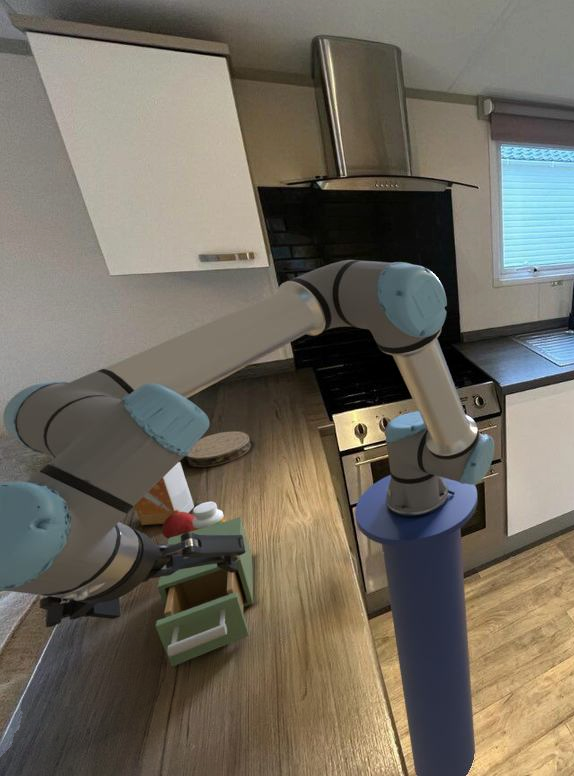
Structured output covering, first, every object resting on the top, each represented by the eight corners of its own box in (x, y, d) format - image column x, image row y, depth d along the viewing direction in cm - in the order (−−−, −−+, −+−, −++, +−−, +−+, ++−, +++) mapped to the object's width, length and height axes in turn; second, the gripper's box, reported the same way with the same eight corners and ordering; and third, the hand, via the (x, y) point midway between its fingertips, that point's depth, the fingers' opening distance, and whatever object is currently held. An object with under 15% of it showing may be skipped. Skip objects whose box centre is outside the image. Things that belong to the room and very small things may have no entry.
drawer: (248, 659, 71) (236, 619, 68) (167, 694, 66) (149, 652, 63) (248, 585, 85) (237, 549, 82) (180, 609, 79) (167, 572, 76)
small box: (141, 526, 102) (123, 478, 97) (160, 508, 107) (144, 463, 103) (178, 523, 102) (162, 476, 98) (195, 506, 108) (181, 461, 104)
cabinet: (253, 603, 82) (240, 559, 78) (175, 633, 76) (157, 587, 72) (252, 557, 93) (241, 516, 89) (183, 580, 87) (168, 537, 83)
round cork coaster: (198, 473, 122) (195, 463, 121) (179, 454, 131) (176, 446, 130) (259, 450, 134) (257, 441, 133) (238, 434, 143) (236, 426, 142)
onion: (166, 553, 94) (155, 522, 91) (168, 537, 98) (157, 508, 95) (200, 542, 97) (190, 512, 94) (200, 527, 101) (191, 498, 98)
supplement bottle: (219, 552, 94) (208, 515, 91) (194, 552, 94) (182, 515, 91) (235, 535, 99) (225, 499, 96) (212, 535, 99) (200, 499, 96)
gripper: (-88, 664, 38) (61, 659, 56) (241, 543, 50) (280, 570, 67) (-80, 580, 41) (59, 599, 58) (230, 483, 52) (270, 523, 70)
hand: (177, 584), depth 63 cm, fingers open, 13 cm apart
